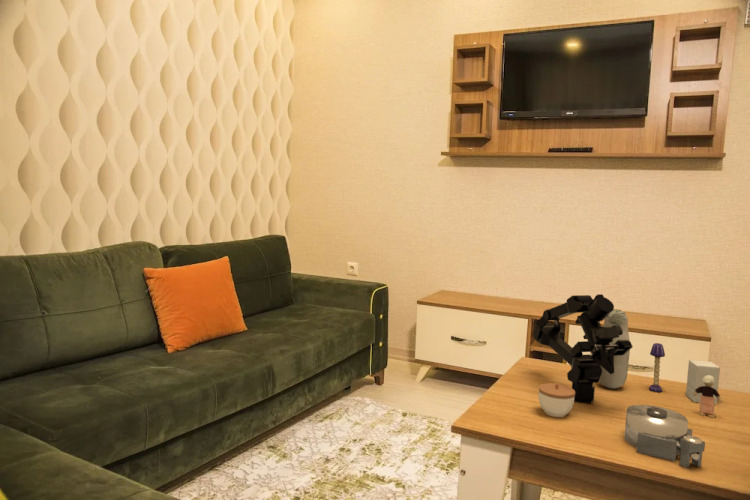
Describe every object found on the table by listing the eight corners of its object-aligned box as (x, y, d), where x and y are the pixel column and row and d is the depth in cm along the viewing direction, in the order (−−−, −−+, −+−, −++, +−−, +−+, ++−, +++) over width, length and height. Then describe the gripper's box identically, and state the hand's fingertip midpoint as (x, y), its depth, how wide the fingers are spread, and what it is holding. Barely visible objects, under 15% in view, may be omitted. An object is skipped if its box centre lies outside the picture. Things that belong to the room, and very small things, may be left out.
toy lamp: (656, 393, 192) (660, 346, 190) (644, 388, 196) (648, 343, 194) (665, 391, 194) (669, 345, 192) (652, 387, 198) (656, 341, 196)
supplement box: (717, 404, 183) (720, 367, 181) (692, 402, 184) (696, 365, 183) (708, 397, 190) (712, 361, 189) (685, 394, 191) (688, 359, 190)
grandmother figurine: (718, 414, 174) (722, 375, 172) (720, 419, 170) (724, 379, 169) (690, 410, 177) (694, 371, 176) (691, 414, 173) (695, 375, 172)
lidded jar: (579, 413, 171) (581, 384, 170) (564, 423, 163) (566, 392, 162) (546, 404, 178) (548, 375, 177) (530, 412, 170) (532, 383, 169)
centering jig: (634, 450, 146) (636, 425, 146) (688, 445, 150) (690, 421, 150) (667, 472, 135) (669, 444, 134) (724, 466, 139) (727, 439, 139)
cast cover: (627, 449, 147) (630, 416, 146) (621, 428, 161) (624, 397, 160) (690, 460, 142) (694, 425, 141) (679, 437, 156) (682, 405, 155)
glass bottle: (592, 381, 202) (598, 306, 199) (621, 383, 201) (627, 307, 198) (599, 390, 192) (605, 311, 190) (630, 393, 191) (636, 313, 188)
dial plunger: (671, 449, 144) (672, 440, 143) (679, 449, 144) (679, 440, 144) (692, 462, 137) (693, 453, 137) (700, 461, 137) (701, 452, 137)
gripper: (578, 316, 169) (598, 362, 160) (631, 314, 174) (653, 359, 164) (562, 334, 178) (580, 379, 168) (612, 333, 182) (633, 376, 173)
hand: (612, 373), depth 168 cm, fingers closed
